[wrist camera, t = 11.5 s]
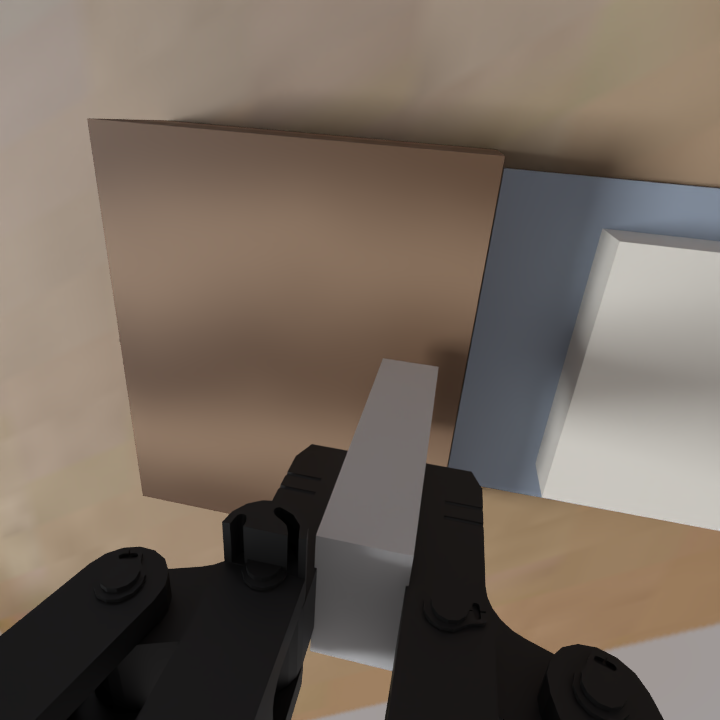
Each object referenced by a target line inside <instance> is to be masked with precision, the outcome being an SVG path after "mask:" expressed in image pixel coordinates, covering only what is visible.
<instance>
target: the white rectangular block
mask: <svg viewBox="0 0 720 720" xmlns="http://www.w3.org/2000/svg"><path fill="white" fill-rule="evenodd" d="M535 465H536V470H537V475H538V480H539V485H540V490H541V495H542V498H548V499H553V500H558V501H564V502H569V503H574V504H580V505H585V506H590V507H596V508H601V509H606V510H611V511H617V512H622V513H627V514H633V515H638V516H643V517H649V518H654V519H659V520H665V521H670V522H675V523H680V524H686V525H691V526H696V527H702V528H707V529H712V530H718V531H720V241H712V240H703V239H694V238H685V237H676V236H667V235H658V234H649V233H640V232H631V231H622V230H613V229H603V228H602V232H601V235H600V239H599V242H598V246H597V249H596V253H595V256H594V260H593V263H592V267H591V270H590V274H589V277H588V281H587V284H586V288H585V291H584V295H583V298H582V302H581V305H580V309H579V312H578V316H577V319H576V323H575V326H574V330H573V333H572V337H571V340H570V344H569V347H568V351H567V354H566V358H565V361H564V365H563V368H562V372H561V375H560V379H559V382H558V386H557V389H556V393H555V396H554V400H553V403H552V407H551V410H550V414H549V417H548V421H547V424H546V428H545V431H544V435H543V438H542V442H541V445H540V449H539V452H538V456H537V459H536V463H535Z"/></svg>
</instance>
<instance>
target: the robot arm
mask: <svg viewBox="0 0 720 720" xmlns="http://www.w3.org/2000/svg"><path fill="white" fill-rule="evenodd" d="M438 368H439V367H437V366H430V365H424V364H417V363H410V362H404V361H397V360H391V359H384V358H383V360H382V362H381V365H380V368H379V370H378V373H377V376H376V378H375V381H374V384H373V386H372V389H371V391H370V394H369V397H368V399H367V402H366V405H365V407H364V410H363V413H362V415H361V418H360V421H359V423H358V426H357V428H356V431H355V434H354V436H353V439H352V442H351V444H350V447H349V450H348V451H347V450H342V449H337V448H331V447H326V446H320V445H315V444H311V445H310V446H309V447H307V448H306V449H304V450H303V451H302V452H300V453H299V454H298V455H296V456H295V458H294V460H293V462H292V464H291V466H290V468H289V470H288V471H287V475H285V477H284V479H283V481H282V483H281V485H280V488H278V490H277V492H276V494H275V496H274V498H273V500H272V501H269V500H261V501H257V502H252V503H247V504H245V505H243V506H241V507H239V508H237V509H236V510H234V511H232V512H231V513H230V514H229V515H228V516H227V517H226V519H225V520H224V521H223V522H222V526H223V542H224V559H225V561H223V562H220V563H217V564H215V565H209V566H203V567H191V568H176V569H168V568H167V564H166V561H165V559H164V558H163V557H162V556H161V555H160V554H158V553H157V552H156V551H155V550H151V549H147V548H143V547H129V548H122V549H118V550H115V551H112V552H109V553H106V554H104V555H103V556H101V557H100V558H98V559H96V560H95V561H93V562H92V563H90V564H89V565H87V566H86V567H85V568H84V569H82V570H81V571H80V572H79V573H77V574H76V575H75V576H74V577H73V578H71V579H70V580H69V581H68V582H66V583H65V584H64V585H63V586H61V587H60V588H59V589H58V590H57V591H55V592H54V593H53V594H52V595H50V596H49V597H48V598H47V599H45V600H44V601H43V602H42V603H40V604H39V605H38V606H37V607H36V608H34V609H33V610H32V611H31V612H29V613H28V614H27V615H26V616H24V617H23V618H22V619H21V620H19V621H18V622H17V623H16V624H15V625H13V626H12V627H11V628H10V629H8V630H7V631H6V632H5V633H3V634H2V635H1V636H0V720H291V717H292V714H293V711H294V707H295V704H296V701H297V697H298V694H299V691H300V687H301V683H302V673H303V661H304V658H305V655H306V651H307V648H308V645H309V642H310V639H311V648H310V651H313V652H317V653H321V654H325V655H329V656H333V657H337V658H341V659H345V660H349V661H353V662H358V663H362V664H366V665H370V666H374V667H378V668H382V669H386V670H390V671H392V677H391V684H390V691H389V697H388V703H387V709H386V715H385V720H664V719H663V717H662V715H661V714H660V712H659V710H658V708H657V706H656V704H655V702H654V701H653V699H652V697H651V695H650V693H649V692H648V690H647V689H646V688H645V686H644V685H643V684H642V682H641V681H640V679H639V678H638V677H637V675H636V674H635V673H634V672H633V671H632V670H631V669H629V668H628V667H627V666H626V665H625V664H624V663H622V662H621V661H620V660H619V659H618V658H616V657H614V656H612V655H610V654H608V653H607V652H605V651H603V650H601V649H599V648H596V647H591V646H586V645H580V644H576V645H571V646H566V647H562V648H561V649H560V650H559V651H558V652H556V653H555V654H553V653H551V652H549V651H547V650H545V649H543V648H541V647H540V646H538V645H536V644H534V643H532V642H530V641H528V640H526V639H525V638H523V637H522V636H520V635H518V634H517V633H515V632H514V631H512V630H511V629H510V628H509V627H508V626H507V625H506V624H505V623H504V622H503V621H501V619H500V618H499V617H498V615H497V614H496V613H495V611H494V610H493V609H492V606H491V604H490V602H489V600H488V598H487V593H486V587H485V560H484V529H483V511H482V509H483V499H482V488H481V486H480V485H479V483H478V481H477V480H476V478H475V476H474V475H473V473H472V472H471V471H466V470H460V469H455V468H449V467H444V466H438V465H433V464H427V463H426V459H427V451H428V444H429V436H430V429H431V421H432V414H433V406H434V398H435V391H436V383H437V376H438Z"/></svg>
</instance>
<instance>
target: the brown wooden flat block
mask: <svg viewBox="0 0 720 720" xmlns="http://www.w3.org/2000/svg"><path fill="white" fill-rule="evenodd" d="M87 120H88V127H89V133H90V140H91V147H92V154H93V160H94V167H95V174H96V181H97V188H98V194H99V201H100V208H101V215H102V221H103V228H104V235H105V242H106V248H107V255H108V262H109V269H110V276H111V282H112V289H113V296H114V303H115V309H116V316H117V323H118V330H119V337H120V343H121V350H122V357H123V364H124V370H125V377H126V384H127V391H128V397H129V404H130V411H131V418H132V425H133V431H134V438H135V445H136V452H137V458H138V465H139V472H140V479H141V485H142V492H143V496H147V497H152V498H157V499H162V500H166V501H171V502H176V503H181V504H185V505H190V506H195V507H200V508H204V509H209V510H214V511H219V512H224V513H228V514H230V513H231V512H232V511H234V510H236V509H237V508H239V507H241V506H243V505H245V504H247V503H252V502H257V501H261V500H269V501H272V500H273V498H274V496H275V494H276V492H277V490H278V488H280V485H281V483H282V481H283V479H284V477H285V475H287V471H288V470H289V468H290V466H291V464H292V462H293V460H294V458H295V456H296V455H298V454H299V453H300V452H302V451H303V450H304V449H306V448H307V447H309V446H310V445H311V444H315V445H320V446H326V447H331V448H337V449H342V450H347V451H348V450H349V447H350V444H351V442H352V439H353V436H354V434H355V431H356V428H357V426H358V423H359V421H360V418H361V415H362V413H363V410H364V407H365V405H366V402H367V399H368V397H369V394H370V391H371V389H372V386H373V384H374V381H375V378H376V376H377V373H378V370H379V368H380V365H381V362H382V360H383V358H384V359H391V360H397V361H404V362H410V363H417V364H424V365H430V366H437V367H439V368H438V376H437V383H436V391H435V398H434V406H433V414H432V421H431V429H430V436H429V444H428V451H427V459H426V463H427V464H433V465H438V466H444V467H447V464H448V459H449V453H450V448H451V443H452V437H453V432H454V427H455V421H456V416H457V411H458V405H459V400H460V395H461V389H462V384H463V378H464V373H465V368H466V362H467V357H468V352H469V346H470V341H471V336H472V330H473V325H474V320H475V314H476V309H477V304H478V298H479V293H480V288H481V282H482V277H483V272H484V266H485V261H486V255H487V250H488V245H489V239H490V234H491V229H492V223H493V218H494V213H495V207H496V202H497V197H498V191H499V186H500V181H501V175H502V170H503V165H504V159H505V156H504V155H503V154H502V153H500V152H499V151H498V150H495V149H483V148H472V147H461V146H449V145H438V144H427V143H415V142H404V141H393V140H382V139H370V138H359V137H348V136H336V135H325V134H314V133H302V132H291V131H280V130H268V129H257V128H246V127H235V126H223V125H212V124H201V123H189V122H178V121H164V120H125V119H87Z"/></svg>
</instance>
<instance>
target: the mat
mask: <svg viewBox="0 0 720 720" xmlns="http://www.w3.org/2000/svg"><path fill="white" fill-rule="evenodd" d="M602 228H603V229H613V230H622V231H631V232H640V233H649V234H658V235H667V236H676V237H685V238H694V239H703V240H712V241H720V188H713V187H702V186H691V185H681V184H670V183H659V182H649V181H638V180H627V179H617V178H606V177H595V176H584V175H574V174H563V173H552V172H542V171H531V170H520V169H510V168H504V169H503V174H502V179H501V185H500V190H499V195H498V201H497V206H496V211H495V217H494V222H493V227H492V233H491V238H490V243H489V249H488V254H487V259H486V265H485V270H484V275H483V281H482V286H481V291H480V297H479V302H478V307H477V313H476V318H475V323H474V329H473V334H472V339H471V345H470V350H469V355H468V361H467V366H466V371H465V377H464V382H463V387H462V393H461V398H460V403H459V409H458V414H457V419H456V425H455V430H454V435H453V441H452V446H451V451H450V457H449V462H448V467H449V468H455V469H460V470H466V471H471V472H472V473H473V475H474V476H475V478H476V480H477V481H478V483H479V485H480V486H482V487H488V488H493V489H498V490H504V491H509V492H514V493H520V494H525V495H531V496H536V497H541V498H542V495H541V490H540V485H539V480H538V475H537V470H536V465H535V463H536V459H537V456H538V452H539V449H540V445H541V442H542V438H543V435H544V431H545V428H546V424H547V421H548V417H549V414H550V410H551V407H552V403H553V400H554V396H555V393H556V389H557V386H558V382H559V379H560V375H561V372H562V368H563V365H564V361H565V358H566V354H567V351H568V347H569V344H570V340H571V337H572V333H573V330H574V326H575V323H576V319H577V316H578V312H579V309H580V305H581V302H582V298H583V295H584V291H585V288H586V284H587V281H588V277H589V274H590V270H591V267H592V263H593V260H594V256H595V253H596V249H597V246H598V242H599V239H600V235H601V232H602ZM547 499H548V498H547ZM552 500H553V499H552ZM557 501H558V500H557ZM563 502H564V501H563ZM568 503H569V502H568ZM579 505H580V504H579ZM584 506H585V505H584ZM595 508H596V507H595ZM600 509H601V508H600ZM616 512H617V511H616Z"/></svg>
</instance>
